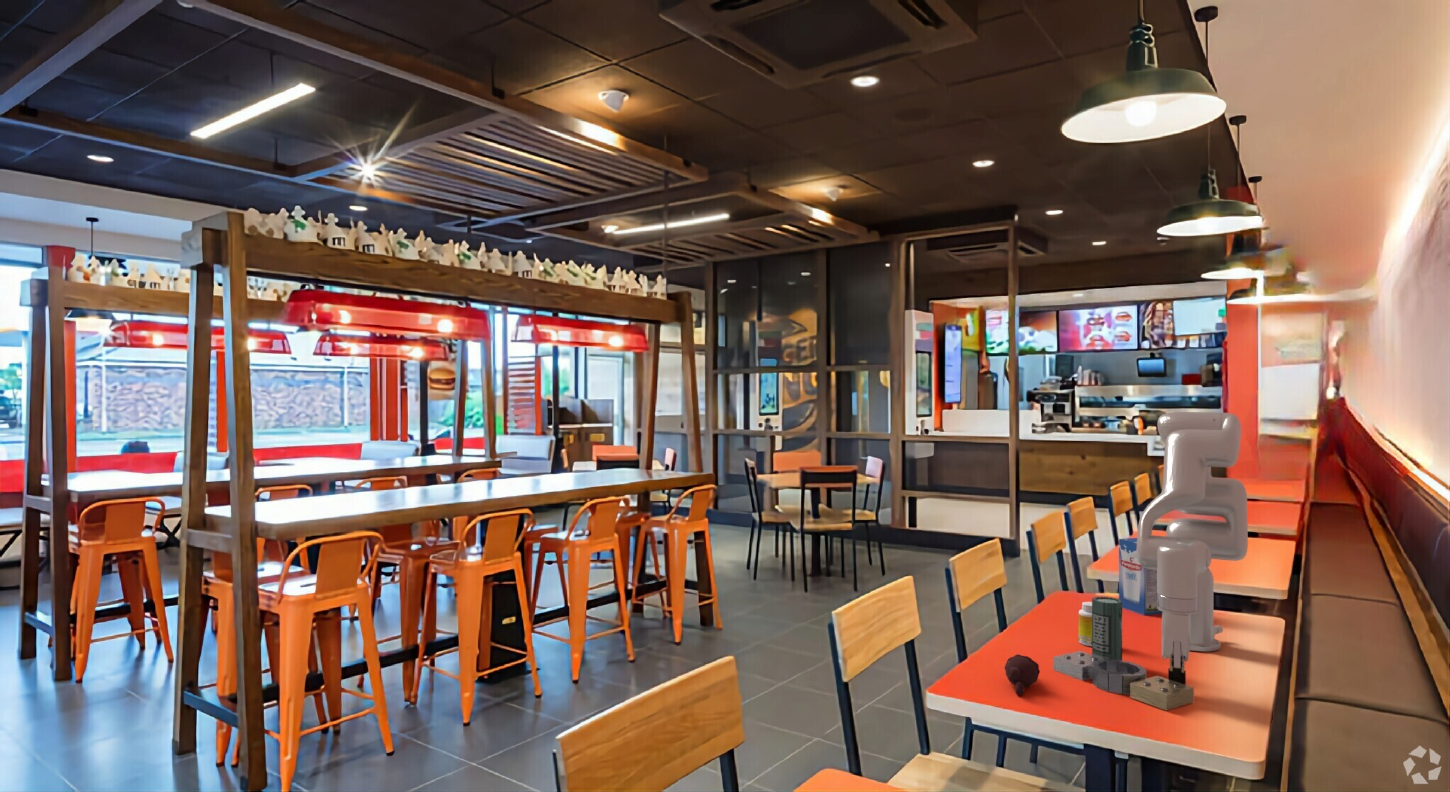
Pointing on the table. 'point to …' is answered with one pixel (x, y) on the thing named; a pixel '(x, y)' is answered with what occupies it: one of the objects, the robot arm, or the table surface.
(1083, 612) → the supplement bottle
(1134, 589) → the milk carton
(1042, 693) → the table surface
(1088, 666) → the leaf fixed
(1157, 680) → the tan studded block
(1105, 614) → the can
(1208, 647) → the robot arm
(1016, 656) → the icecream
